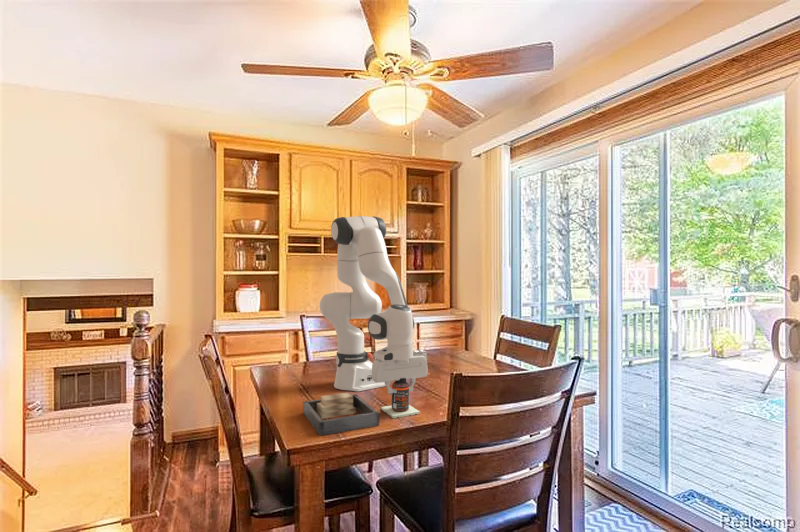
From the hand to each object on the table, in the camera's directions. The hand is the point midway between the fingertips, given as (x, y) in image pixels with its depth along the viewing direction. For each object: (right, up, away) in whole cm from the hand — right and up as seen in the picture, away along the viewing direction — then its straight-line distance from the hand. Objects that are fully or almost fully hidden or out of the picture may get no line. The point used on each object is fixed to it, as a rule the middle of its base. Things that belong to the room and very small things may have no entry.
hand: (400, 392), depth 147 cm
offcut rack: (-20, -7, -7) cm, 22 cm away
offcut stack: (-22, -7, -2) cm, 23 cm away
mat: (0, -7, 0) cm, 7 cm away
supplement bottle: (0, -6, 0) cm, 6 cm away
